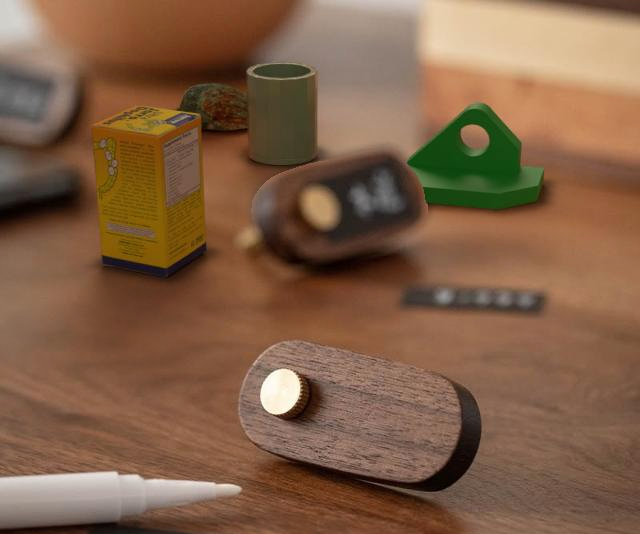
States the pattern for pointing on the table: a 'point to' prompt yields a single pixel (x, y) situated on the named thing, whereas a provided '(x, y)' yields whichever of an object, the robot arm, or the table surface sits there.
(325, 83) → the table surface
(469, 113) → the bracket
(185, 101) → the seashell
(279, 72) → the cup
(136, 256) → the supplement box
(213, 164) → the table surface
